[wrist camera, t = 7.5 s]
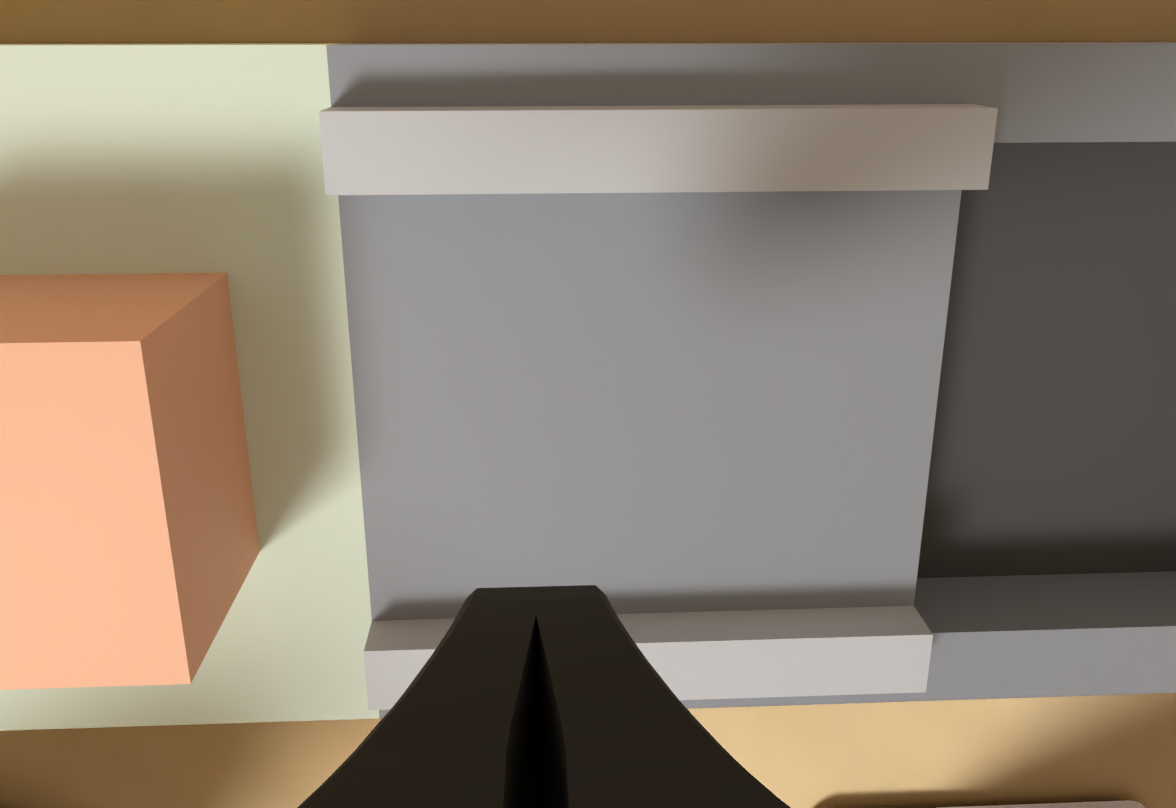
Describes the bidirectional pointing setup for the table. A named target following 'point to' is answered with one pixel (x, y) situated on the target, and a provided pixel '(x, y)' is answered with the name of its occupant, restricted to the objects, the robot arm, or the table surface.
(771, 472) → the tunnel deck
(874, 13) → the table surface
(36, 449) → the terracotta block
